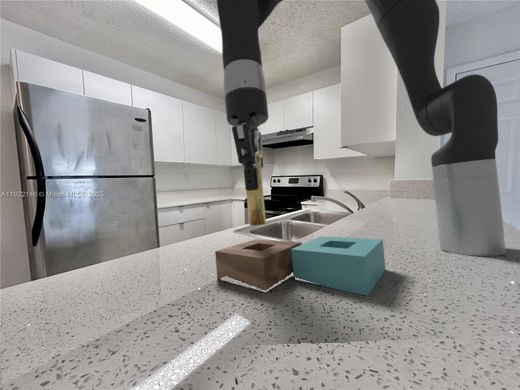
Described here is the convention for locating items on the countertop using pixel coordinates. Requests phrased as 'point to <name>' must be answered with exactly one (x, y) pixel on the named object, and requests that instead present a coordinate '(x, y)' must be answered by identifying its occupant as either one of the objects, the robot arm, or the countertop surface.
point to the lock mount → (256, 262)
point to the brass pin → (256, 199)
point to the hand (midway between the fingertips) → (254, 190)
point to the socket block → (340, 263)
